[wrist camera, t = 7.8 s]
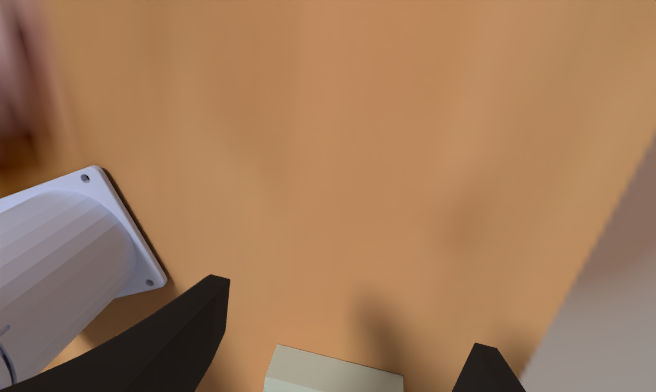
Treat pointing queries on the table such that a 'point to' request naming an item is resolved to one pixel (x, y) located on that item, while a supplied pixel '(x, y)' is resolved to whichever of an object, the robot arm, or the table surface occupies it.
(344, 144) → the table surface
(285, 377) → the carton
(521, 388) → the robot arm
